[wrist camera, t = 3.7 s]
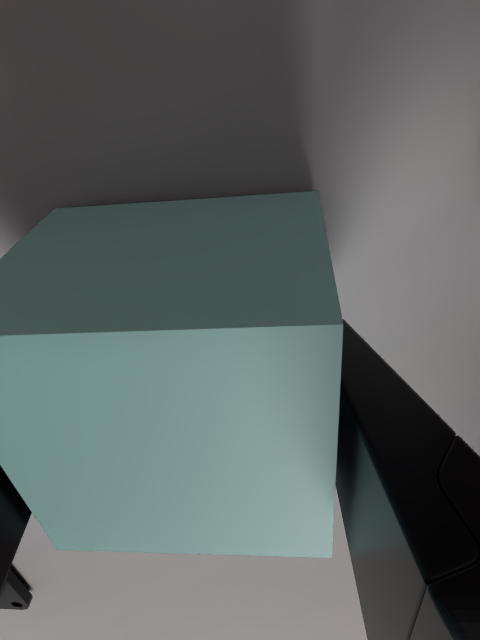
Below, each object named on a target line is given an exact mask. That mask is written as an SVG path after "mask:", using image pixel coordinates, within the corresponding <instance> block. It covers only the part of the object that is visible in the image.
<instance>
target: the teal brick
mask: <svg viewBox="0 0 480 640" xmlns="http://www.w3.org/2000/svg"><path fill="white" fill-rule="evenodd" d="M342 342H343V320H342V315H341V309H340V304H339V299H338V294H337V288H336V283H335V278H334V273H333V267H332V262H331V257H330V252H329V246H328V241H327V236H326V231H325V225H324V220H323V215H322V210H321V204H320V199H319V194H318V191H308V192H293V193H278V194H263V195H249V196H234V197H219V198H204V199H190V200H175V201H160V202H145V203H131V204H116V205H101V206H87V207H72V208H57V209H53V210H52V211H51V212H50V213H49V214H48V215H47V216H46V217H45V218H44V219H43V220H41V221H40V222H39V223H38V224H37V225H36V226H35V227H34V228H33V229H32V230H31V231H30V232H29V233H28V234H26V235H25V236H24V237H23V238H22V239H21V240H20V241H19V242H18V243H17V244H16V245H15V246H14V247H13V248H12V249H10V250H9V251H8V252H7V253H6V254H5V255H4V256H3V257H2V258H1V259H0V465H1V467H2V468H3V470H4V471H5V473H6V474H7V476H8V477H9V479H10V480H11V482H12V483H13V485H14V486H15V488H16V489H17V491H18V492H19V494H20V495H21V497H22V498H23V500H24V501H25V503H26V504H27V506H28V507H29V509H30V510H31V512H32V513H33V515H34V516H35V518H36V519H37V521H38V522H39V524H40V525H41V527H42V528H43V530H44V531H45V533H46V534H47V536H48V537H49V539H50V540H51V542H52V543H53V545H54V546H55V548H56V549H57V550H75V551H111V552H147V553H183V554H219V555H254V556H290V557H326V558H332V545H333V525H334V504H335V484H336V464H337V444H338V423H339V403H340V383H341V362H342Z"/></svg>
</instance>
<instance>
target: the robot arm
mask: <svg viewBox="0 0 480 640" xmlns="http://www.w3.org/2000/svg"><path fill="white" fill-rule="evenodd" d="M342 320H343V342H342V362H341V383H340V403H339V423H338V444H337V464H336V488H337V493H338V498H339V503H340V508H341V513H342V517H343V522H344V527H345V532H346V537H347V542H348V547H349V551H350V556H351V561H352V566H353V571H354V576H355V580H356V585H357V590H358V595H359V600H360V605H361V610H362V614H363V619H364V624H365V629H366V634H367V639H368V640H480V456H479V455H478V454H477V453H476V452H475V451H474V450H473V449H472V448H471V447H470V446H469V445H468V444H467V443H466V442H465V441H464V440H463V439H462V438H461V437H460V436H455V435H456V433H455V431H454V430H453V429H452V428H451V427H450V426H449V425H448V424H447V423H446V422H445V421H444V420H443V419H442V418H441V417H440V416H439V415H438V414H437V413H436V412H435V411H434V410H433V409H432V408H431V407H430V406H429V405H428V404H427V403H426V402H425V401H424V400H423V399H422V398H421V397H420V396H419V395H418V394H417V393H416V392H415V391H414V390H413V389H412V388H411V387H410V386H409V385H408V384H407V383H406V382H405V381H404V380H403V379H402V378H401V377H400V376H399V375H398V374H397V373H396V372H395V371H394V370H393V369H392V368H391V367H390V366H389V365H388V364H387V363H386V362H385V361H384V360H383V359H382V358H381V357H380V356H379V355H378V354H377V353H376V352H375V351H374V350H373V349H372V348H371V347H370V346H369V345H368V343H367V342H366V341H365V340H364V339H363V338H362V337H361V336H360V335H359V334H358V333H357V332H356V331H355V330H354V329H353V328H352V327H351V326H350V325H349V324H348V323H347V322H346V321H345V320H344V319H342ZM31 513H32V512H31V510H30V509H29V507H28V506H27V504H26V503H25V501H24V500H23V498H22V497H21V495H20V494H19V492H18V491H17V489H16V488H15V486H14V485H13V483H12V482H11V480H10V479H9V477H8V476H7V474H6V473H5V471H4V470H3V468H2V467H1V465H0V609H19V610H23V609H28V607H29V605H30V602H31V600H32V597H33V596H32V595H31V593H30V592H29V591H28V590H27V589H26V587H25V586H24V585H23V584H22V583H21V581H20V580H19V579H18V578H17V577H16V575H15V574H14V573H13V572H12V571H11V569H10V566H11V564H12V561H13V559H14V556H15V554H16V551H17V549H18V546H19V543H20V541H21V538H22V536H23V533H24V531H25V528H26V526H27V523H28V521H29V518H30V516H31Z"/></svg>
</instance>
